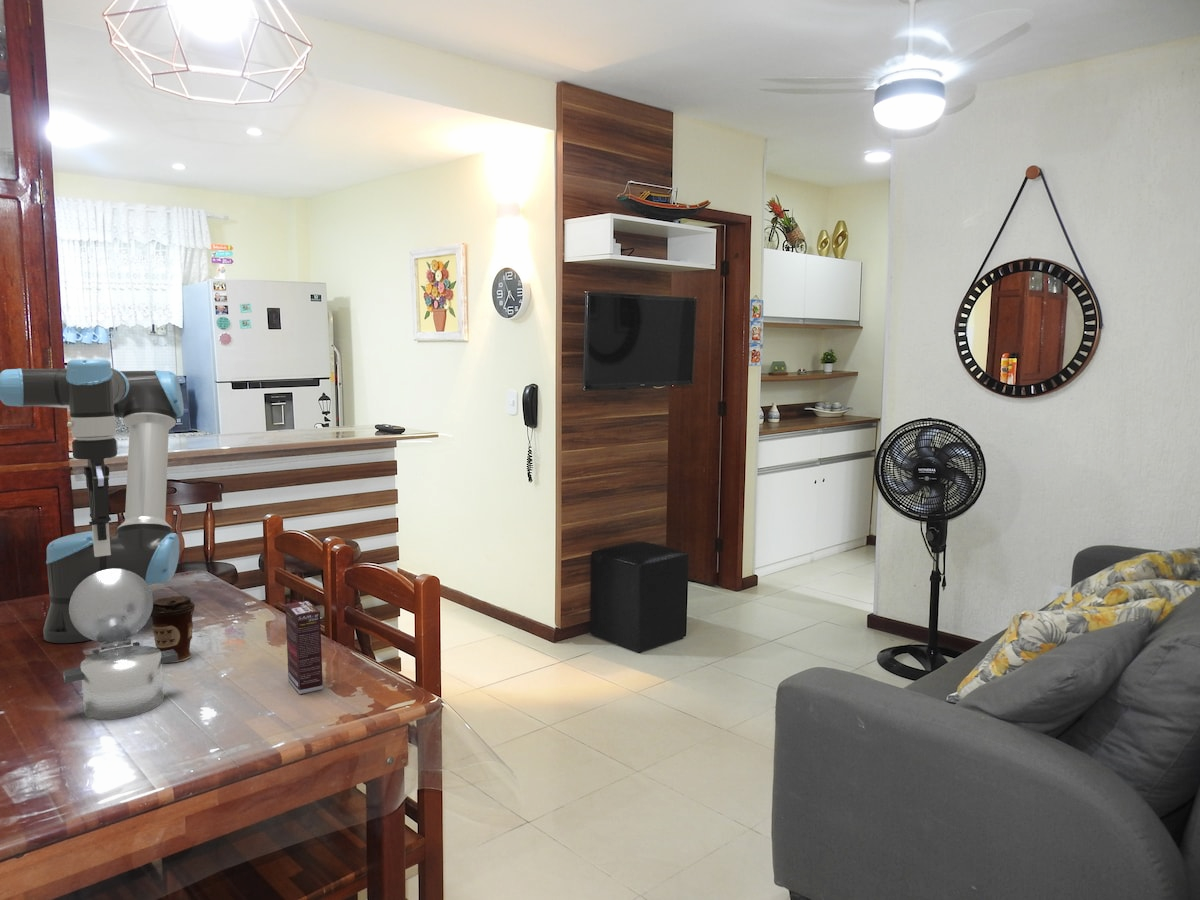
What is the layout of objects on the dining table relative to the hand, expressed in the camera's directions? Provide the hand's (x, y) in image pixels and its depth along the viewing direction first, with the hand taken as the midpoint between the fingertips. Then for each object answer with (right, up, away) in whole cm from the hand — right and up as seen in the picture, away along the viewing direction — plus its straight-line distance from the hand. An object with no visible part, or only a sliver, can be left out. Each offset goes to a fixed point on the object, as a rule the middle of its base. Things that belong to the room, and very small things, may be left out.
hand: (102, 555), depth 168 cm
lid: (+6, -9, -7) cm, 13 cm away
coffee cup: (+8, -24, +12) cm, 28 cm away
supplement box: (+41, -26, -2) cm, 49 cm away
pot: (+11, -27, -11) cm, 31 cm away
